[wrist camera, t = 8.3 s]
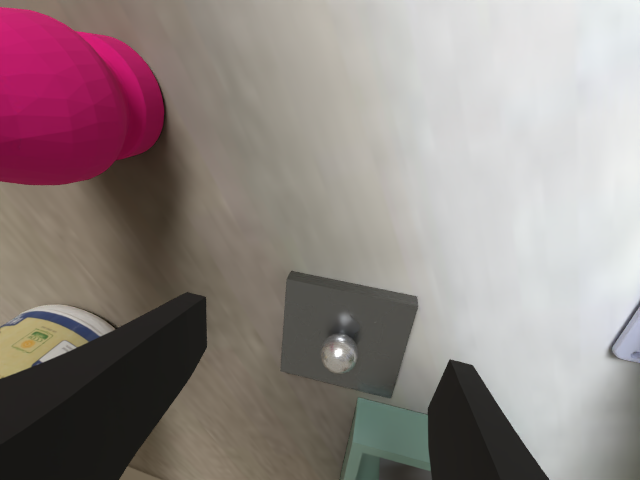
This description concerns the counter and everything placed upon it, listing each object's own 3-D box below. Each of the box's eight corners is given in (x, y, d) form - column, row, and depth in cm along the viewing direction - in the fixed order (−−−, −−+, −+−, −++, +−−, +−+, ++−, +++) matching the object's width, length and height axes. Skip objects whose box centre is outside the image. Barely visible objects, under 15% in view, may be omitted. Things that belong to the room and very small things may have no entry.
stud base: (417, 296, 20) (420, 331, 17) (391, 386, 24) (390, 427, 21) (291, 271, 21) (274, 299, 19) (284, 360, 25) (270, 396, 22)
